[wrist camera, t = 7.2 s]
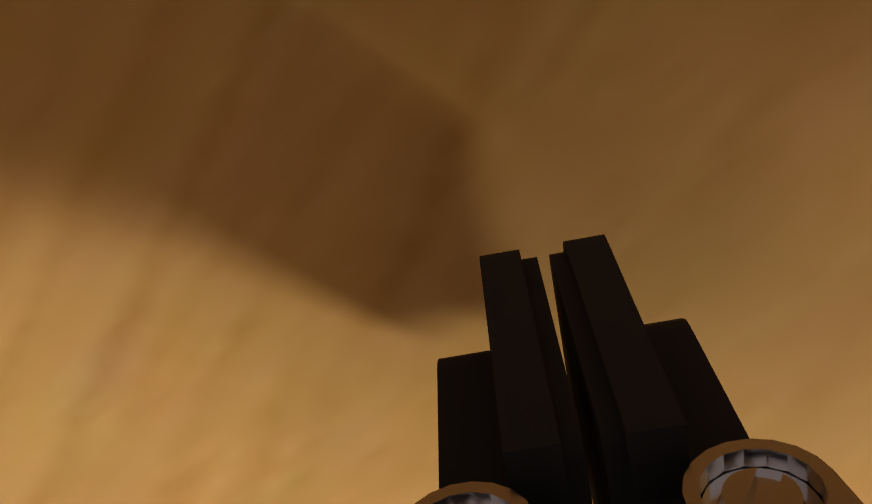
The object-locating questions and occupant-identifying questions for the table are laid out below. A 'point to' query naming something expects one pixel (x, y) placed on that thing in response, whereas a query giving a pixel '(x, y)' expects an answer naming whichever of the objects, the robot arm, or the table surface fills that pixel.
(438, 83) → the table surface
